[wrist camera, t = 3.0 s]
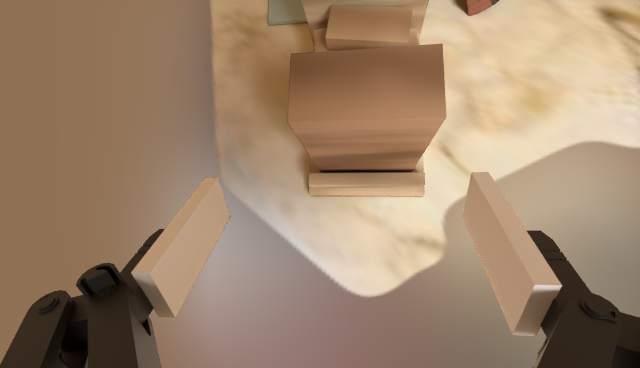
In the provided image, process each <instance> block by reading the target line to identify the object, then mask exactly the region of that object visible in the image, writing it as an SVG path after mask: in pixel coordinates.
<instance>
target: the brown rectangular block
mask: <svg viewBox="0 0 640 368" xmlns="http://www.w3.org/2000/svg"><path fill="white" fill-rule="evenodd" d="M445 118H446V102H445V83H444V64H443V44H431V45H416V46H401V47H386V48H371V49H356V50H341V51H326V52H311V53H296V54H291V61H290V82H289V102H288V124H289V125H290V127H291V128H292V130H293V131H294V133H295V134H296V136H297V137H298V139H299V140H300V142H301V143H302V145H303V147H304V148H305V150H306V151H307V153H308V154H309V156H310V157H311V159H312V160H313V162H314V163H315V165H316V166H317V168H318V169H319V171H320V172H321V173H339V172H412V171H413V169H414V167H415V166H416V164H417V163H418V161H419V160H420V158H421V156H422V155H423V153H424V152H425V150H426V148H427V147H428V145H429V144H430V142H431V140H432V139H433V137H434V136H435V134H436V133H437V131H438V129H439V128H440V126H441V125H442V123H443V121H444V120H445Z"/></svg>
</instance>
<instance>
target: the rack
mask: <svg viewBox="0 0 640 368" xmlns="http://www.w3.org/2000/svg"><path fill="white" fill-rule="evenodd" d="M428 1H429V0H302V4H303V7H304V11H305V15H306V18H307V22H308V26H309V30H310V33H311V37H312V41H313V45H314V52H326V51H341V50H356V49H371V48H386V47H401V46H416V45H419V36H420V33H421V29H422V25H423V21H424V17H425V13H426V9H427V5H428ZM308 185H309V195H310V196H345V197H422V196H424V185H425V173H424V168H423V155H422V156H421V158H420V160H419V161H418V163H417V164H416V166H415V167H414V169H413V171H412V172H339V173H321V172H320V171H319V169H318V168H317V166H316V165H315V163H314V162H313V160H312V159H311V157H310V173H309V182H308Z"/></svg>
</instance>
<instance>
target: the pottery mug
mask: <svg viewBox="0 0 640 368" xmlns="http://www.w3.org/2000/svg"><path fill="white" fill-rule="evenodd" d="M498 1H499V0H466V5H467V7H468V8H467V11H468V16H472V15H474V14H478V13H480V12H482V11H484V10H486V9H487V8H489V7H491V6H492V5H494V4H495V3H497V2H498Z"/></svg>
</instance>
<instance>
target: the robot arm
mask: <svg viewBox="0 0 640 368" xmlns="http://www.w3.org/2000/svg"><path fill="white" fill-rule="evenodd" d="M230 217H231V216H230V213H229V210H228V206H227V203H226V200H225V197H224V195H223V191H222V188H221V185H220V182H219V179H218V178H205V179H204V180H203V181H202V182H201V184H200V185H199V186H198V188H197V189H196V190H195V191H194V193H193V194H192V195H191V196H190V198H189V199H188V200H187V202H186V203H185V204H184V205H183V207H182V208H181V209H180V211H179V212H178V213H177V215H176V216H175V217H174V218H173V220H172V221H171V222H170V223H169V225H168V226H167V227H166V229H159V230H158V231H157V232H155V233H154V234H153V235H151V236H150V237H149V238H148V239H147V241H146V242H145V243H144V244H143V246H142V247H141V248H140V249H139V250H138V253H136V254H135V256H134V257H133V258H132V259H131V260H130V261H129V263H128V264H127V265H126V266H125V268H124V269H123V270H122V271H121V273H119V271H118V270H117V268H116V267H115V265H114V264H111V263H103V264H100V265H97V266H95V267H93V268H91V269H89V270H88V271H86V272H85V273H84V274H82V276H81V277H80V278H79V280H78V281H77V284H76V286H77V287H78V288H79V290H80V291H81V292H82V293H83V295H81V296H77V297H73V298H71V297H70V296H69V294H68V293H67V292H66V291H62V290H60V291H54V292H52V293H49V294H47V295H45V296H43V297H42V298H40V299H39V300H37V301H36V302H35V303H34V304H33V305H32V306H31V307H30V309H29V310H28V312H27V314H26V316H25V318H24V319H23V322H22V323H21V325H20V328H19V329H18V331H17V333H16V335H15V337H14V339H13V341H12V343H11V345H10V347H9V349H8V351H7V353H6V355H5V357H4V359H3V361H2V363H1V364H0V368H161V364H160V359H159V354H158V350H157V345H156V341H155V336H154V331H153V327H152V322H151V320H150V318H149V314H150V313H151V311H152V310H153V309H154V310H155V312H156V313H157V315H158V316H159V317H172V318H175V317H176V316H177V314H178V312H179V310H180V308H181V306H182V305H183V303H184V301H185V299H186V297H187V295H188V294H189V292H190V290H191V288H192V286H193V285H194V283H195V281H196V279H197V277H198V275H199V274H200V272H201V270H202V268H203V266H204V264H205V263H206V261H207V259H208V257H209V255H210V253H211V252H212V250H213V248H214V246H215V244H216V242H217V241H218V239H219V237H220V235H221V233H222V231H223V230H224V228H225V226H226V224H227V222H228V221H229V219H230ZM463 218H464V221H465V224H466V226H467V228H468V231H469V233H470V235H471V238H472V240H473V242H474V245H475V247H476V250H477V252H478V254H479V257H480V259H481V261H482V264H483V266H484V268H485V271H486V273H487V275H488V278H489V280H490V283H491V285H492V287H493V290H494V292H495V294H496V297H497V299H498V302H499V304H500V306H501V309H502V311H503V313H504V316H505V318H506V320H507V323H508V325H509V328H510V329H511V332H512V335H523V336H536V335H537V333H538V331H539V329H540V327H542V329H543V331H544V333H545V335H546V337H547V338H546V340H545V342H544V343H543V346H542V347H541V349H540V351H539V353H538V357H537V359H536V361H535V363H534V365H533V368H640V318H639V317H635V316H632V315H628V314H625V313H622V312H620V311H619V310H618V308H616V307H615V306H614V305H613V304H612V303H611V302H610V301H608V300H606V299H604V298H603V297H601V296H599V295H596V294H593V293H591V292H590V290H589V289H588V288H587V286H586V285H585V283H584V282H583V281H582V279H581V278H580V276H579V275H578V274H577V272H576V271H575V270H574V268H573V267H572V265H571V264H570V263H569V261H567V260H566V257H565V256H564V254H563V253H562V252H560V249H559V248H558V246H557V245H556V244H555V242H554V241H553V240H552V239H551V238H550V237H548V236H547V235H545V234H544V233H543V232H542V231H526V229H525V228H524V226H523V225H522V224H521V222H520V220H519V219H518V217H517V216H516V214H515V212H514V211H513V209H512V208H511V206H510V205H509V203H508V202H507V200H506V199H505V197H504V196H503V194H502V192H501V191H500V189H499V188H498V186H497V185H496V183H495V182H494V180H493V179H492V177H491V176H490V174H489V172H479V173H471V178H470V183H469V188H468V192H467V197H466V202H465V207H464V212H463Z"/></svg>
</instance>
